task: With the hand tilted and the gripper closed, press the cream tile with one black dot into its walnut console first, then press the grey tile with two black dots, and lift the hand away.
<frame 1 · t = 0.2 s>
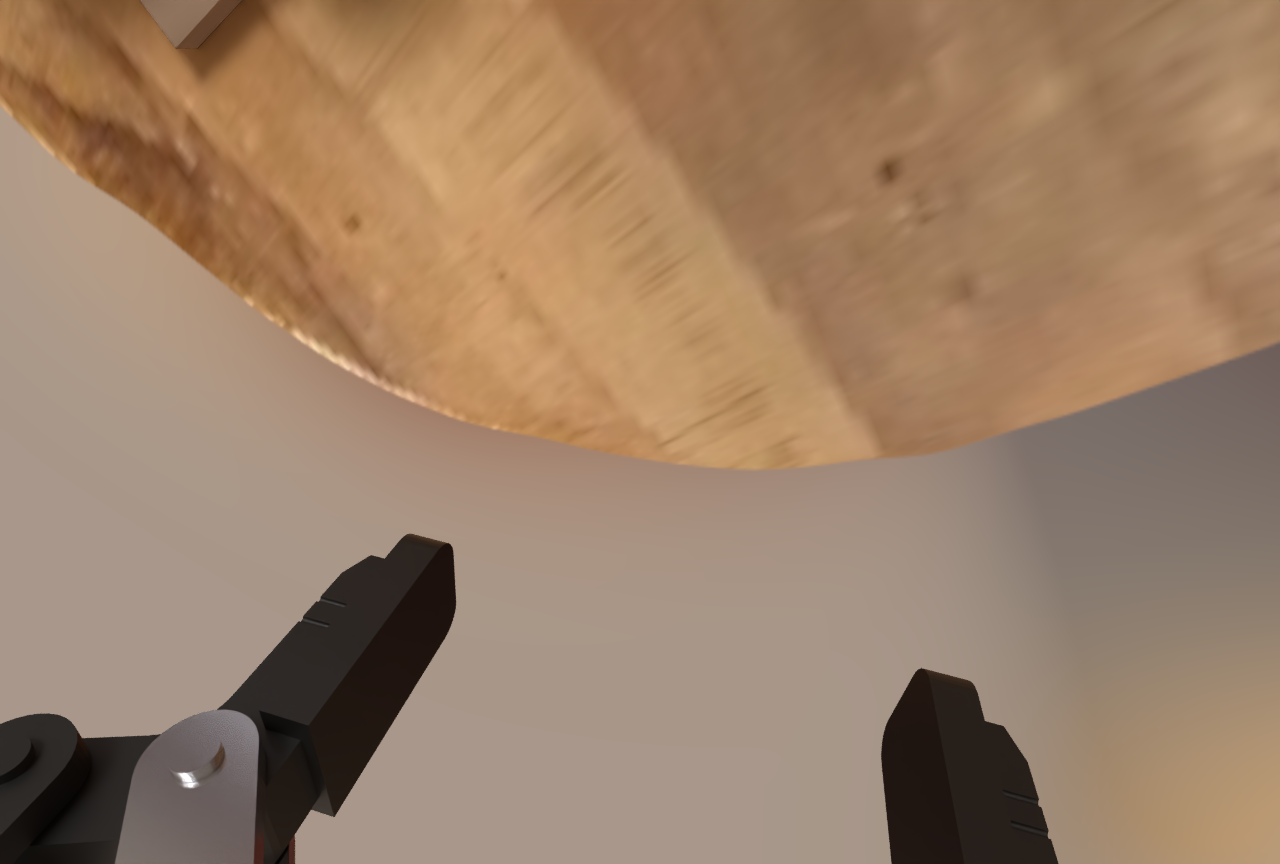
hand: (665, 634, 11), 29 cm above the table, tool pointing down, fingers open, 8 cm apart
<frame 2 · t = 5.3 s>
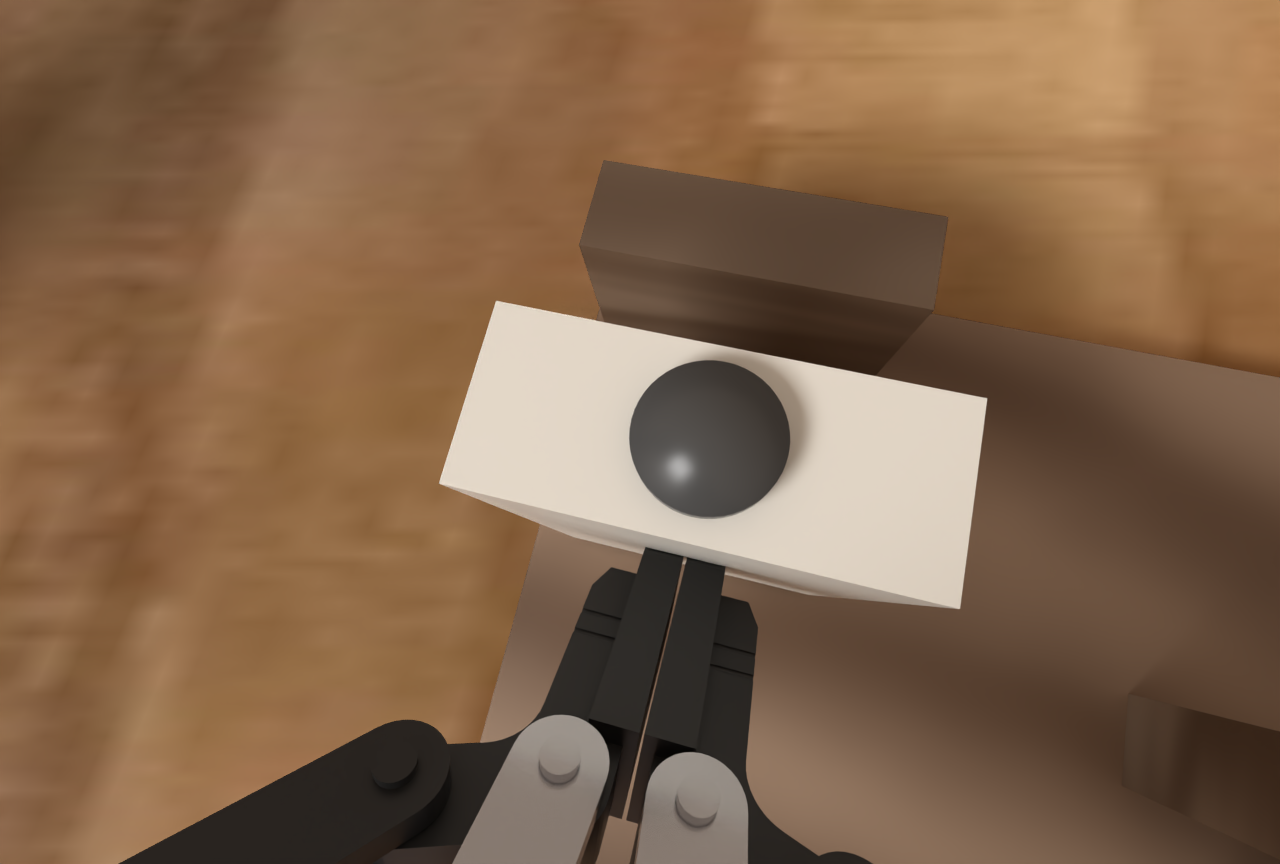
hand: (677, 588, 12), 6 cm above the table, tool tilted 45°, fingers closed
console: (933, 749, 16), on the table
tile one: (701, 493, 12), point 6 cm above the table, slide at 0.2 cm, touching gripper
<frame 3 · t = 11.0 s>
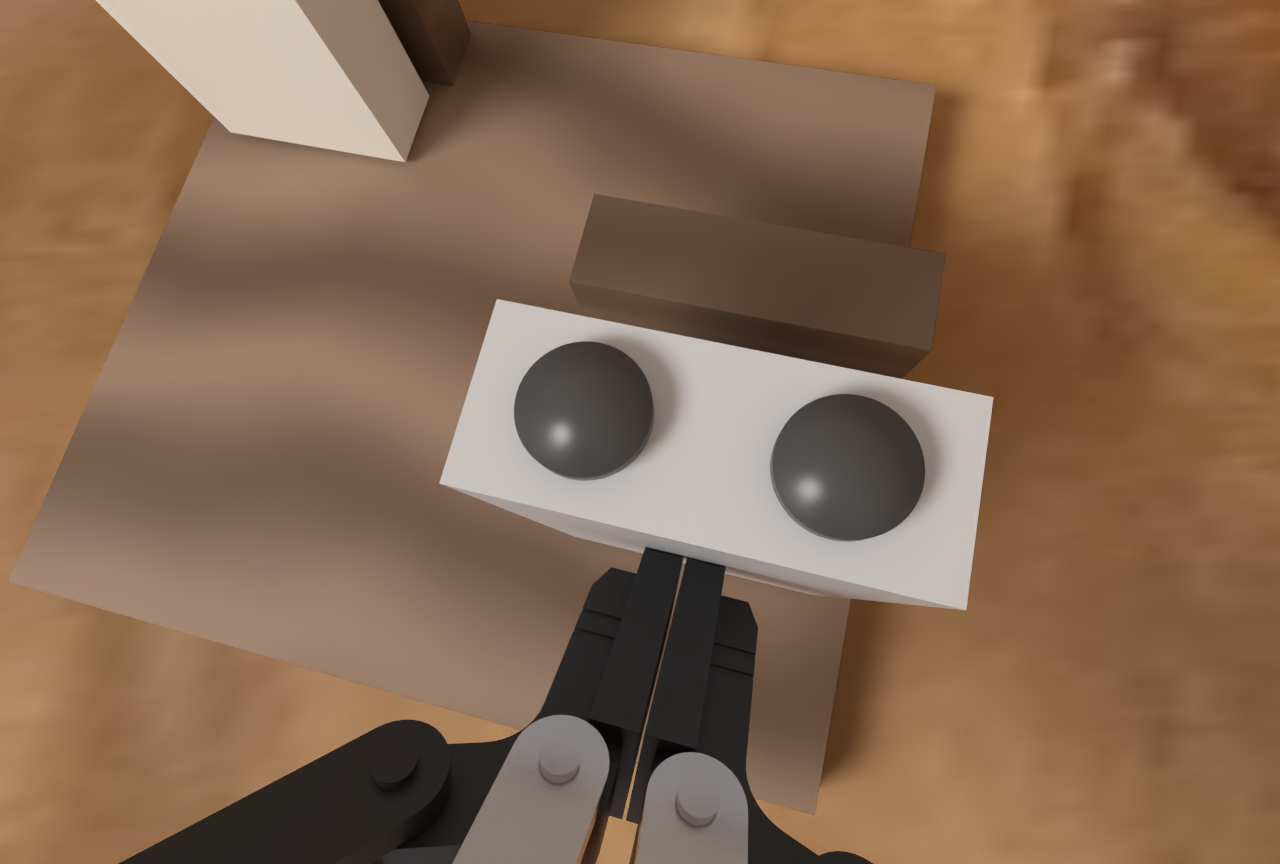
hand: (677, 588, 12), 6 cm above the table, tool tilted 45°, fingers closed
console: (494, 374, 19), on the table
tile two: (703, 492, 12), point 6 cm above the table, slide at 1.0 cm, touching gripper
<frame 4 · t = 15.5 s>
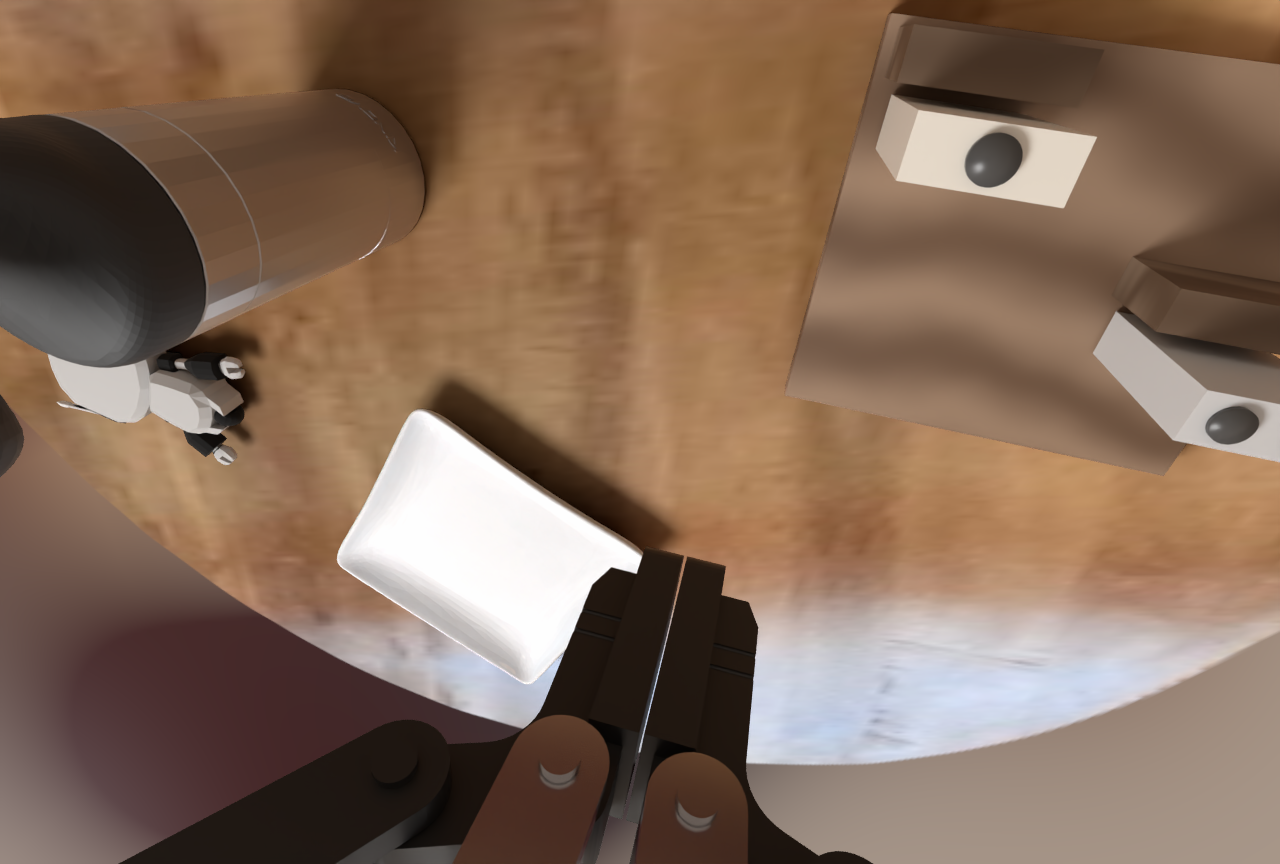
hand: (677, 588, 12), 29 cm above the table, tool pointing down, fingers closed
console: (1027, 282, 34), on the table
tile two: (1212, 383, 29), point 6 cm above the table, slide at 2.6 cm
tile one: (967, 144, 26), point 6 cm above the table, slide at 2.7 cm
salad plate: (496, 537, 55), on the table
robot toy: (178, 363, 52), on the table
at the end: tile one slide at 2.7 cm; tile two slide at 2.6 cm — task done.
